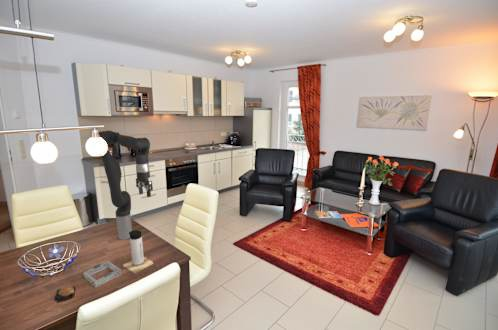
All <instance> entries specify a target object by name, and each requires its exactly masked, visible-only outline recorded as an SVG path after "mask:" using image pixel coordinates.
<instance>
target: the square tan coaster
mask: <svg viewBox="0 0 498 330" xmlns="http://www.w3.org/2000/svg"><path fill="white" fill-rule="evenodd" d="M151 265H154V262H153V260H150V259H148V258H147V257H145V256H144V263H143V264H142V265H139V266H134V265H133V264H132V259H130V260H129V261H127V262H126V263H123V264H122V267H123V268H124V269H126V270H127V271H129V272H130V273H132V274H133V275H135V274H137V273H139V272H140V271H142V270H144V269H146V268H148V267H150V266H151Z"/></svg>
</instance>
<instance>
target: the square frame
mask: <svg viewBox="0 0 498 330" xmlns="http://www.w3.org/2000/svg"><path fill="white" fill-rule="evenodd" d="M107 268H109V269H110V270H111V271H112V272H111V271H109V272H107V273H105V274H103V275H104V276H102V277H100V278H98V279H96V278H94V277H93V275H95V274H97V273H99V272H101V271H104V270H106V269H107ZM121 275H122V269H121V268H119V267H118V266H117V265H115V264H114V263H112V262H111V260H108V261H105V262H103V263H102V264H100V263H98V264H96V265H94V266H93V267H92V268H90V269H88V270H86V271H84V272H83V276H84V277H83V279H85V280H86V281H87V282H88V283H90V284H91V285H92V286H93V287H94V288H95V289H96V288H98V287H100V286H102V285H104V284H105V283H108V282H109V281H111V280H113V279H115V278H117V277H119V276H121Z"/></svg>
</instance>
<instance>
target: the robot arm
mask: <svg viewBox="0 0 498 330" xmlns="http://www.w3.org/2000/svg"><path fill="white" fill-rule="evenodd" d="M98 132H99V135H100V137H102V138H103V139H104V140H105V141H106V142H107V144H108V145H107V146H111V145H115V144H118V145H120V146H121V147H125V148H128V149H131V150H133V151H139V153H137V154H135V164H136V166H135V171H136V173H135V174H136V178H135V186H136V188H137V189H138V193H139V195H143V194H144V189H145V191H146V197H147V198H150V197H152V194H151V192H152V191H153V181H152V180H149V178H150V177H151V174H150V173H151V170H150V165H149V154H150V149H151V148H150V147H151V143H150V140H149V138H147V137H139V138H136V137H134V136H130V135H124V134H120V133H118V132H116V131H112V130H102V131H98ZM100 156H101V155H100ZM101 160H102V163H103V168H104V171H105V176H106V179H107V182H108V187H109V193H110V199H111V200H110V201H111V203H112V205H113V206H114V207H116V208H117V209H116V210H115V220H116V232H117V239H118V240H121V241H124V240H130V234H129V232H131V231H133V225H132V216H131V211H132V197H131V195H130V192H128V191H125V190H122V188H121V181H122V175H123V174H122V168H121V165H120V162H119V161H118V160H117V159H116V158H115V157H114V155H112V154H111V152H110V151H109V150H108V151H107V153H106V154H105V155H104V156H101ZM143 188H144V189H143Z"/></svg>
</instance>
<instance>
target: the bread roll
mask: <svg viewBox="0 0 498 330" xmlns="http://www.w3.org/2000/svg"><path fill="white" fill-rule="evenodd" d="M75 295H76V286H75V285H66V286H62V287H61V288H58V289H57V290H56V293H55V296H54V300H55V302H56V303H57V304H60V303H62V302H66V301H70V300H72V299H74V297H75Z"/></svg>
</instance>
